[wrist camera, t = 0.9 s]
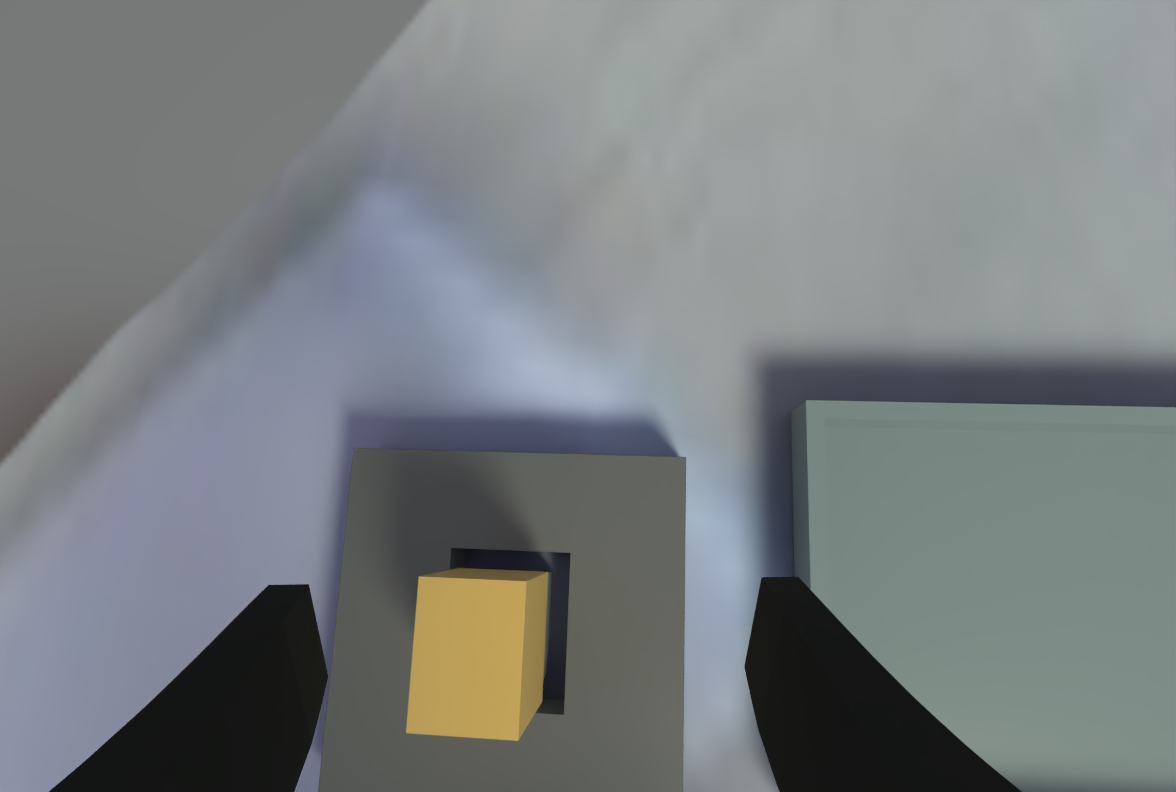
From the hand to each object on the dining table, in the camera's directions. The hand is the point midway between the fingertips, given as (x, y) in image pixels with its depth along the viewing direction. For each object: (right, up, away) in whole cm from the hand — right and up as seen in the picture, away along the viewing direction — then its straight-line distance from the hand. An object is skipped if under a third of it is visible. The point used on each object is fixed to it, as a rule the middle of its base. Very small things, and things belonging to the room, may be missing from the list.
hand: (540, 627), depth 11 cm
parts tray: (+16, -4, +12) cm, 21 cm away
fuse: (-2, -5, +14) cm, 15 cm away
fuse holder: (-2, -5, +14) cm, 15 cm away
